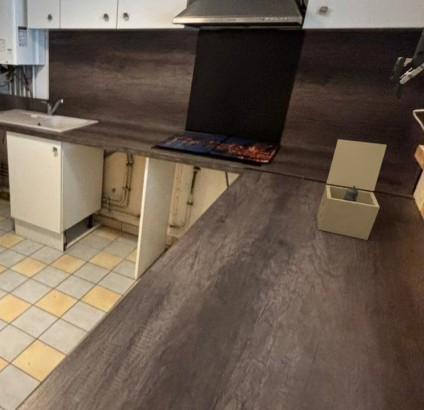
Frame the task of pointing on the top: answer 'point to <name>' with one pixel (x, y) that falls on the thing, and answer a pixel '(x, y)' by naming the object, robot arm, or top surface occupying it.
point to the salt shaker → (351, 194)
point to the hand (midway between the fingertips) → (416, 99)
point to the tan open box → (347, 213)
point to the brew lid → (356, 164)
